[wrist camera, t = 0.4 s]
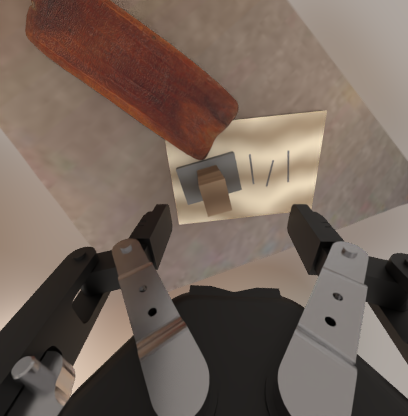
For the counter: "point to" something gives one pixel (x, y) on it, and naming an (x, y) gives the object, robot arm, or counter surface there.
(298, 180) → the birch board
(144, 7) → the counter surface
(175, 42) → the counter surface
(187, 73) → the wooden tablet
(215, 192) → the block
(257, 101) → the counter surface
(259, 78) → the counter surface
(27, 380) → the robot arm
